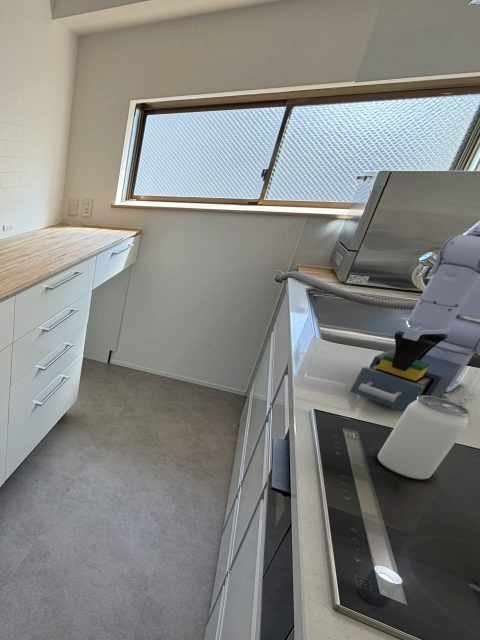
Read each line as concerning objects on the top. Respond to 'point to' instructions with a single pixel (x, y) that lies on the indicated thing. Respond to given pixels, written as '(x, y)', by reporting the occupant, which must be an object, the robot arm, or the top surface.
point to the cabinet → (432, 372)
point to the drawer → (390, 387)
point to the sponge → (411, 373)
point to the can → (423, 437)
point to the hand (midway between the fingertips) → (403, 366)
